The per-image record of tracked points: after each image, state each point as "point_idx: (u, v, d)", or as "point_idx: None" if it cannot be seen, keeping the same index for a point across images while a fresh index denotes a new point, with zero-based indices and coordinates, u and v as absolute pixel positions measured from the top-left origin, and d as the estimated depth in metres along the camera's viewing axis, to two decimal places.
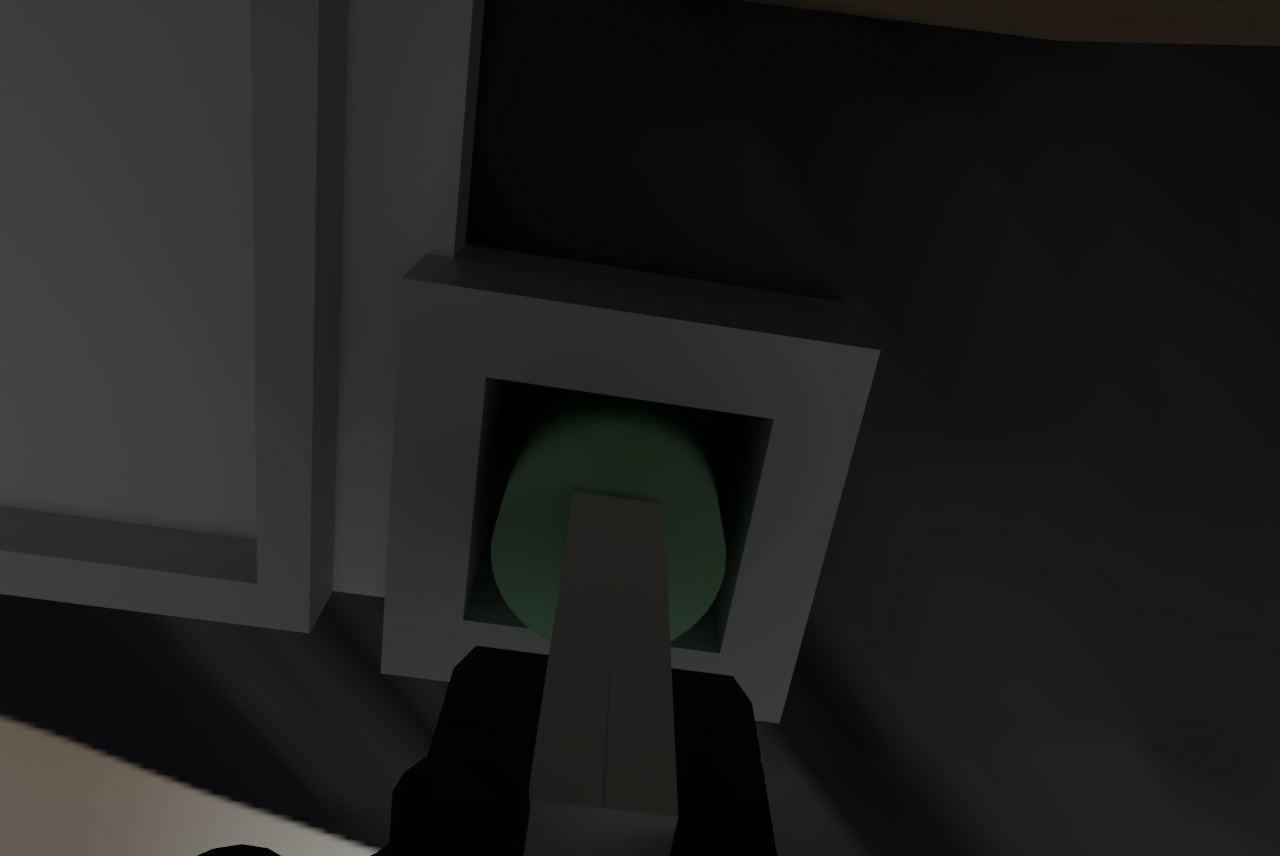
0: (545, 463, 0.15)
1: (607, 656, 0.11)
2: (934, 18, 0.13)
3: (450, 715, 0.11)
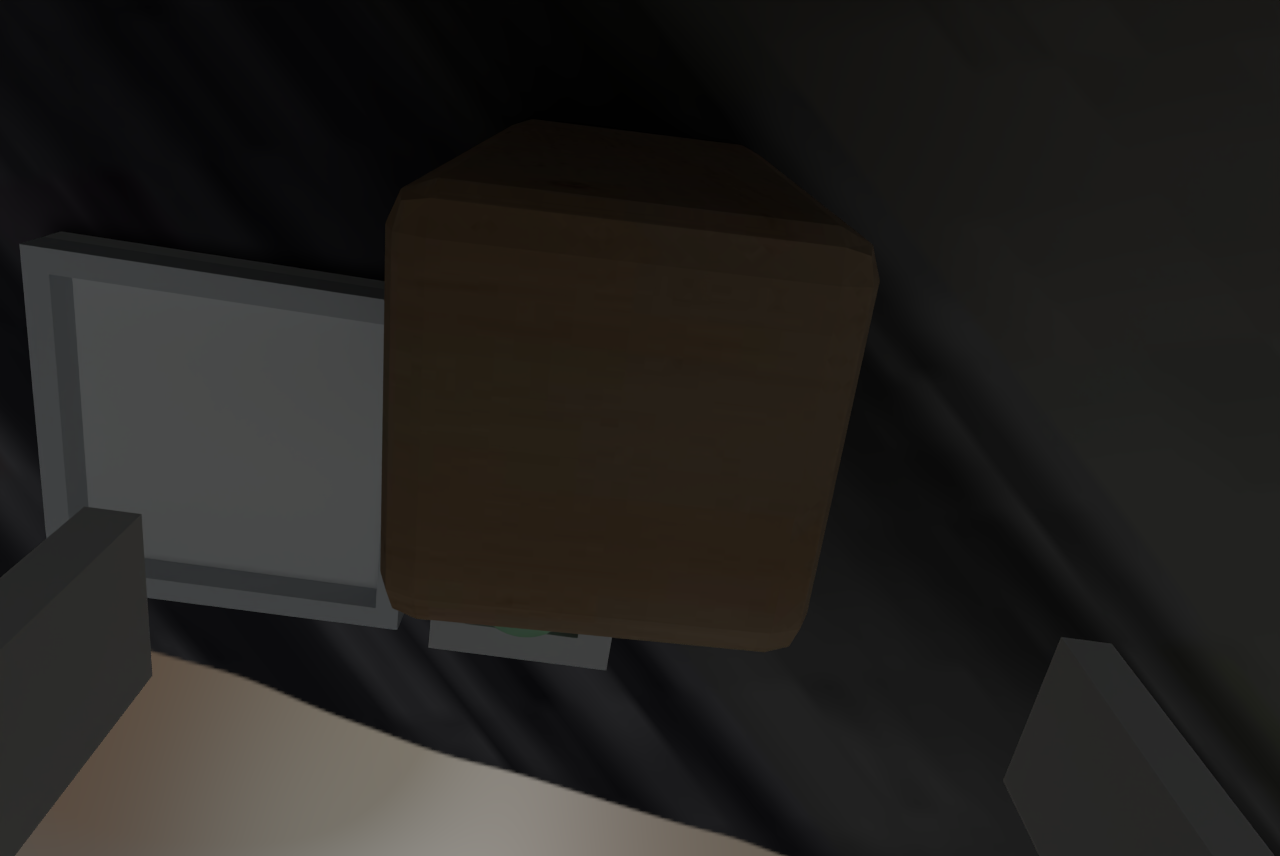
0: None
1: None
2: None
3: None
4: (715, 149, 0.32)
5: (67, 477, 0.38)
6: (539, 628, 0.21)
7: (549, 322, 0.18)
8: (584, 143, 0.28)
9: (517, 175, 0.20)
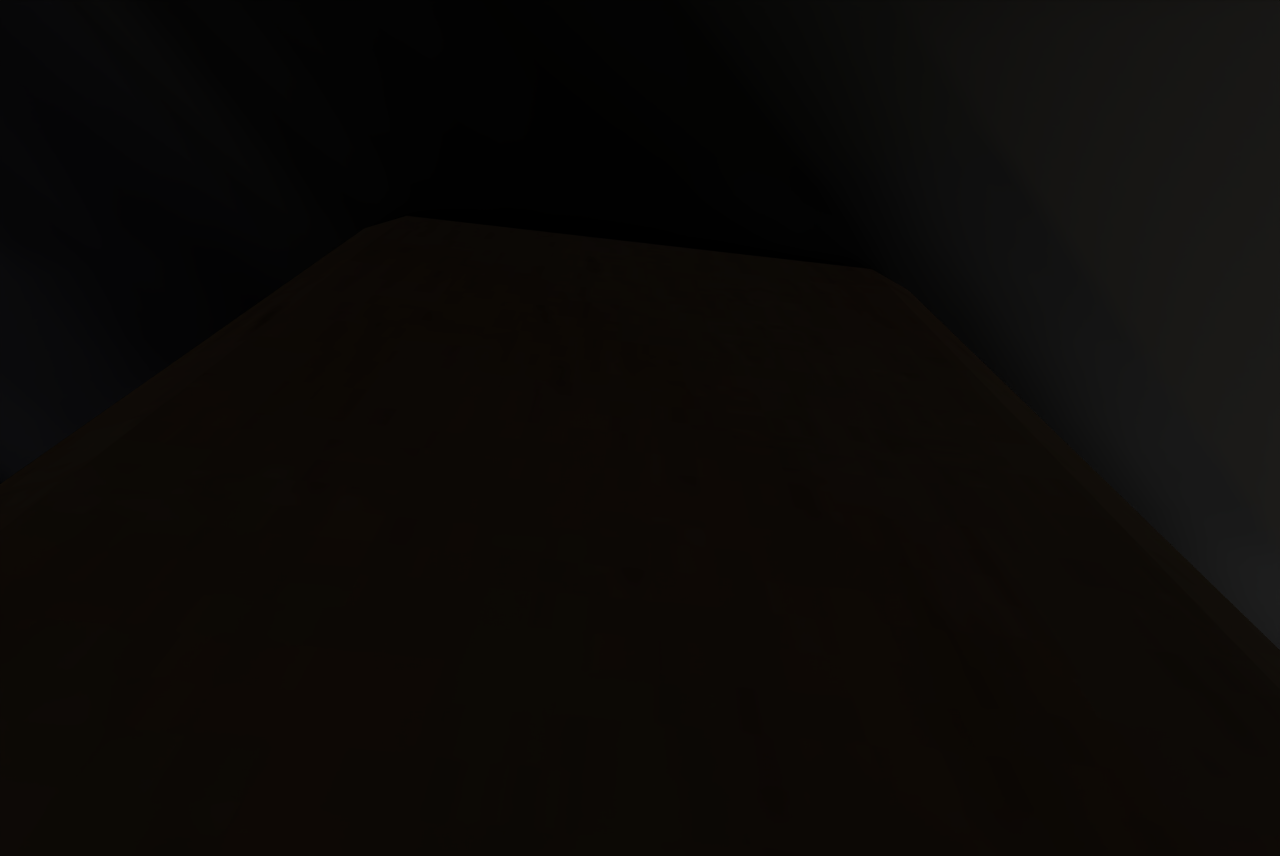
0: None
1: None
2: None
3: None
4: (835, 319, 0.13)
5: None
6: None
7: None
8: (471, 379, 0.09)
9: None
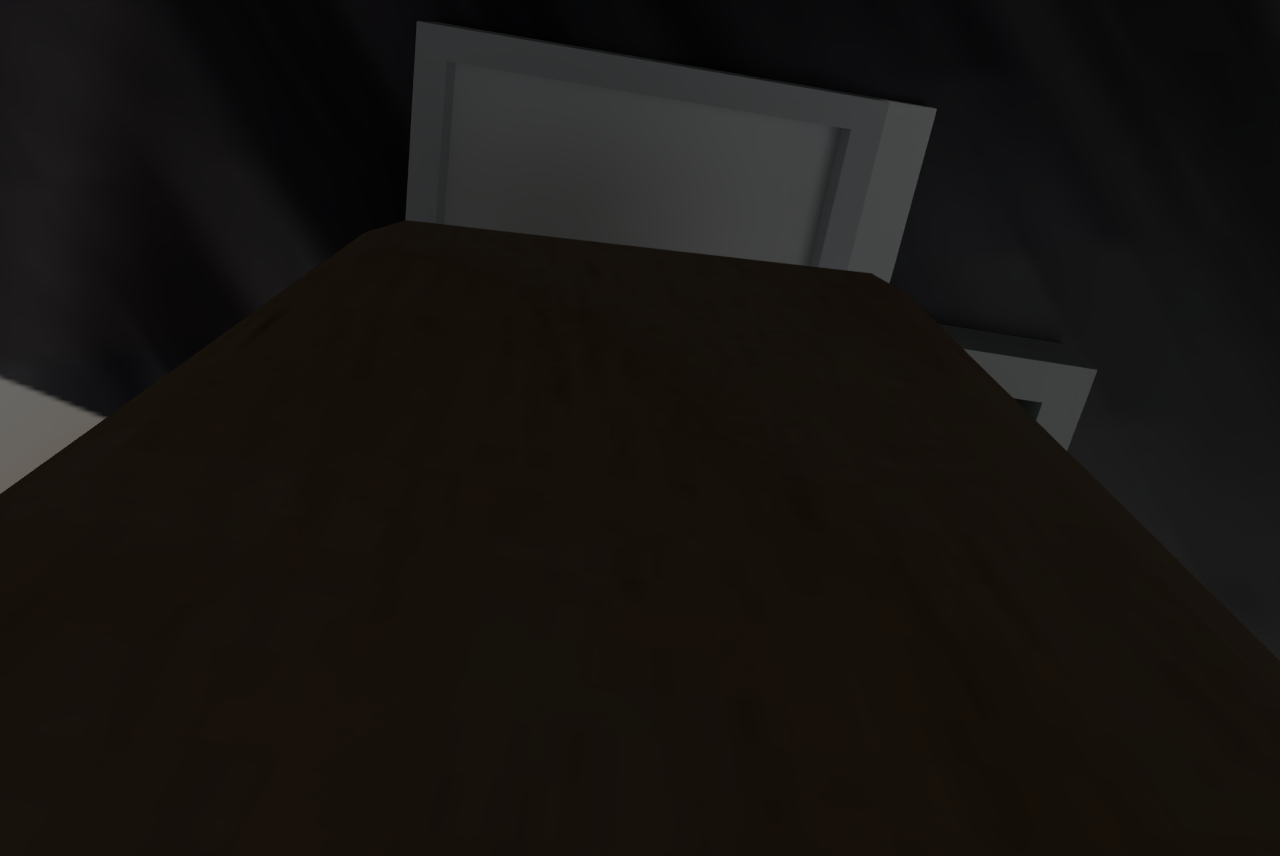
0: None
1: None
2: None
3: None
4: (835, 324, 0.13)
5: None
6: None
7: None
8: (471, 386, 0.09)
9: None
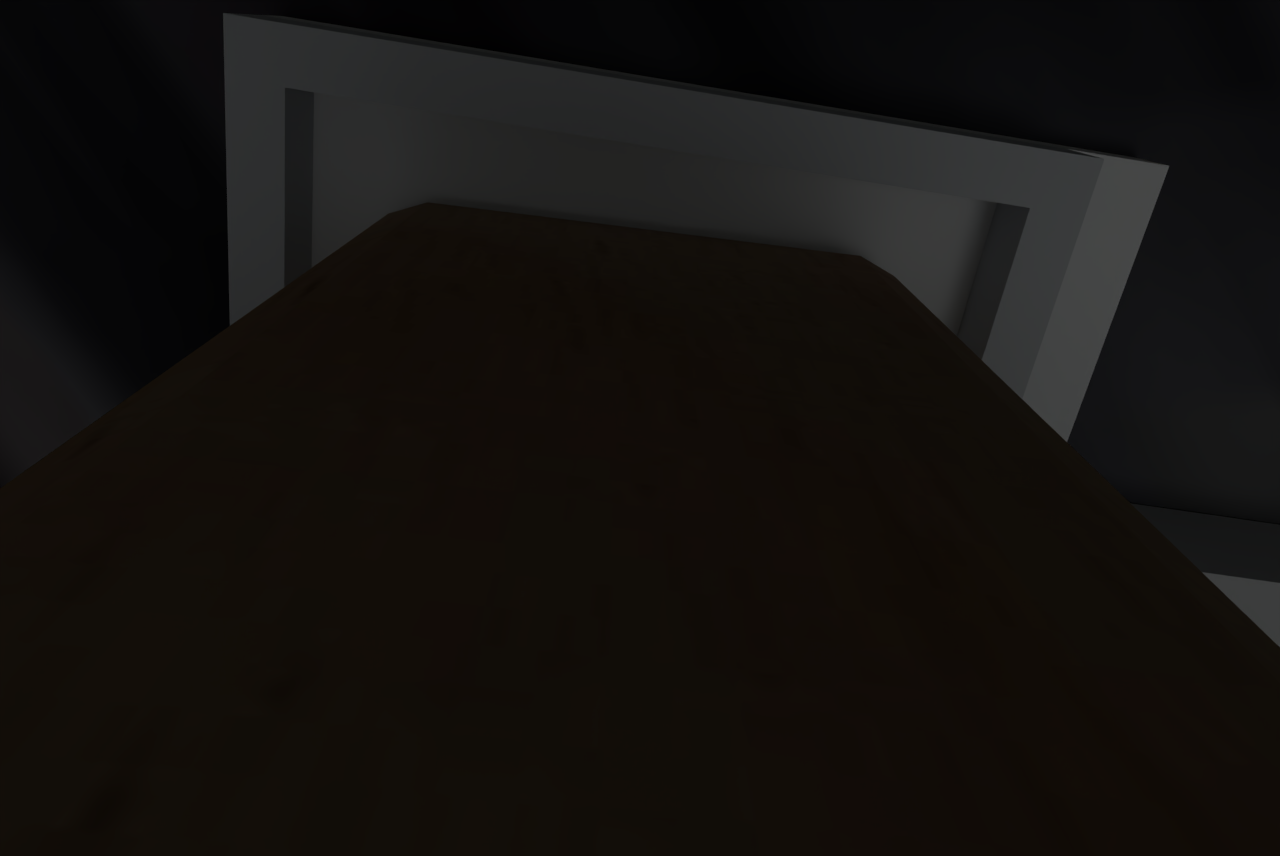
0: None
1: None
2: None
3: None
4: (824, 297, 0.14)
5: None
6: None
7: None
8: (498, 339, 0.10)
9: None
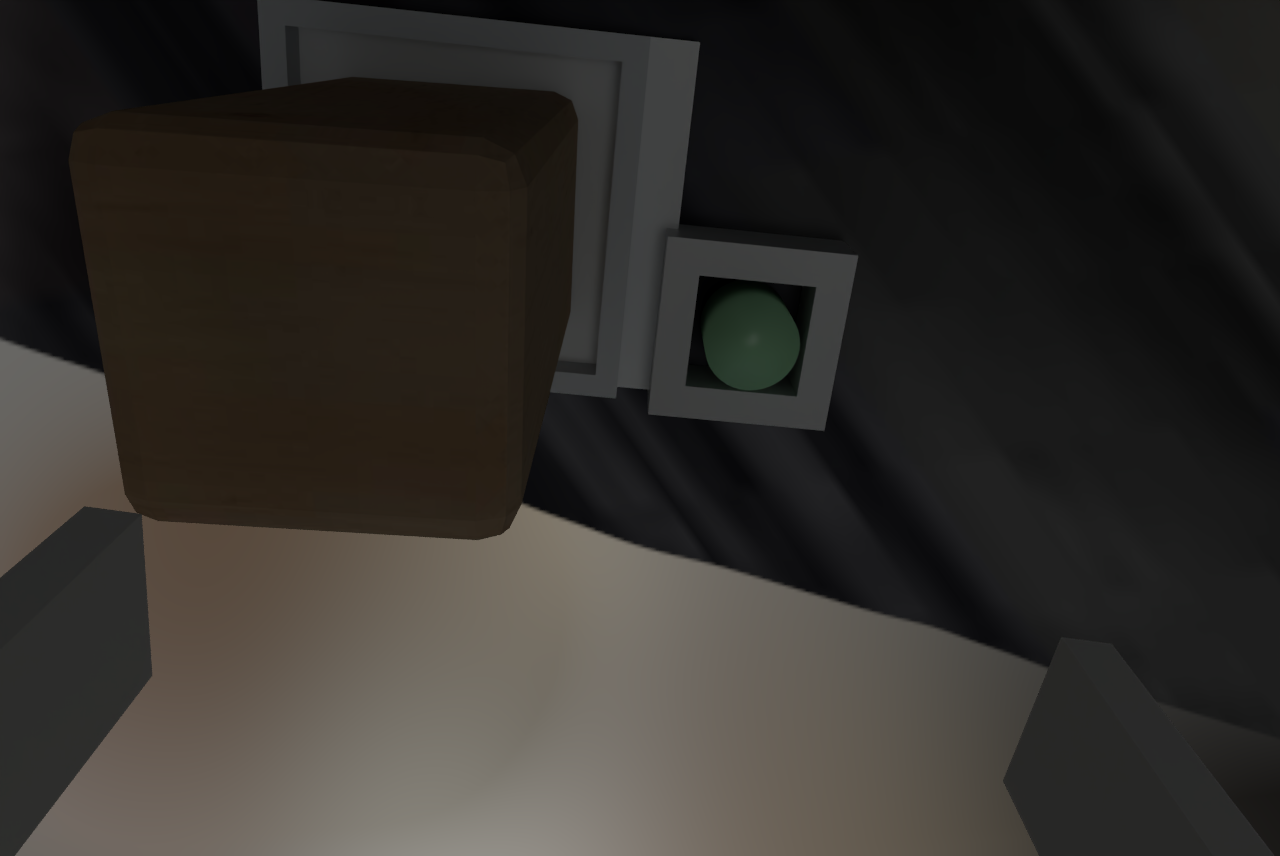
0: (726, 306, 0.38)
1: None
2: None
3: None
4: (509, 94, 0.33)
5: None
6: (269, 525, 0.23)
7: (219, 237, 0.20)
8: (360, 91, 0.30)
9: (209, 109, 0.22)
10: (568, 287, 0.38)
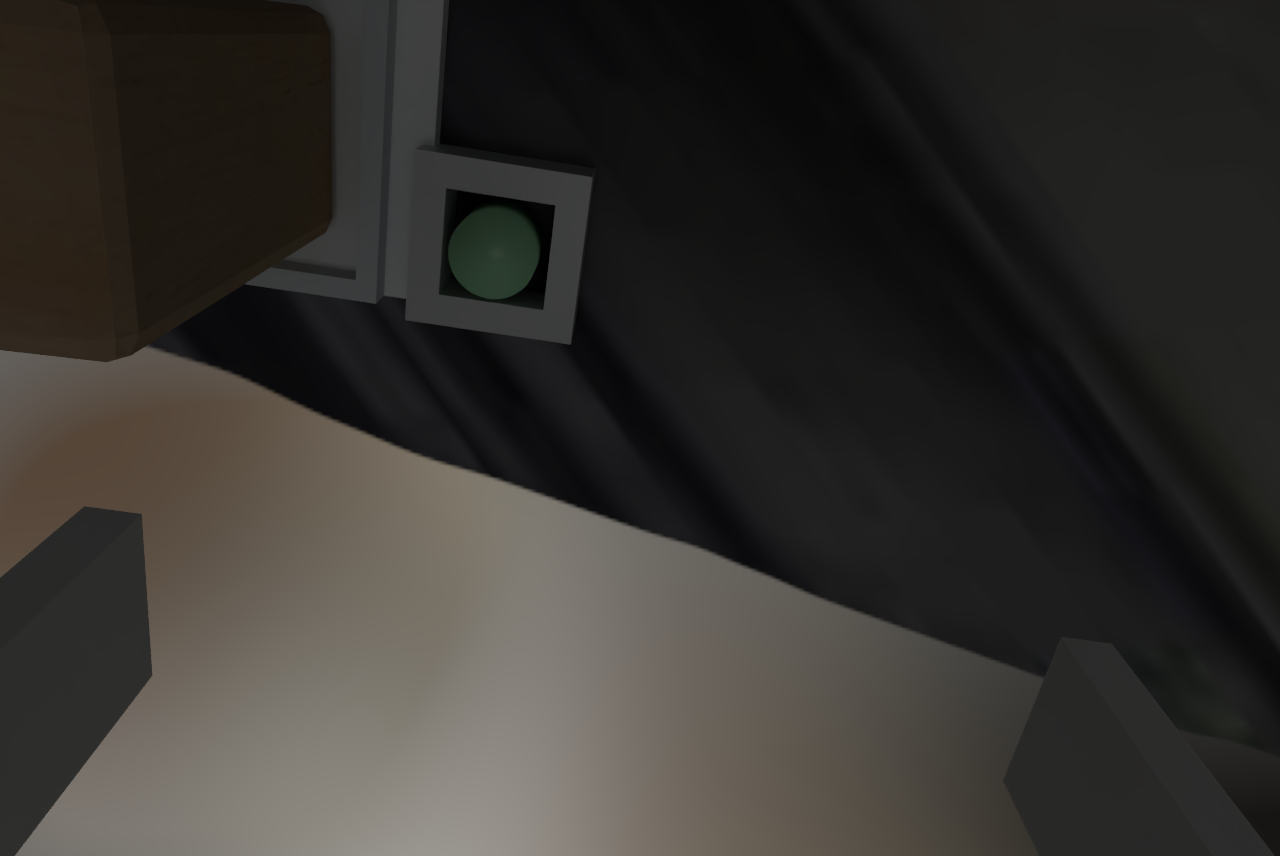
0: (467, 217, 0.41)
1: None
2: None
3: None
4: None
5: None
6: None
7: None
8: None
9: None
10: (317, 190, 0.41)
